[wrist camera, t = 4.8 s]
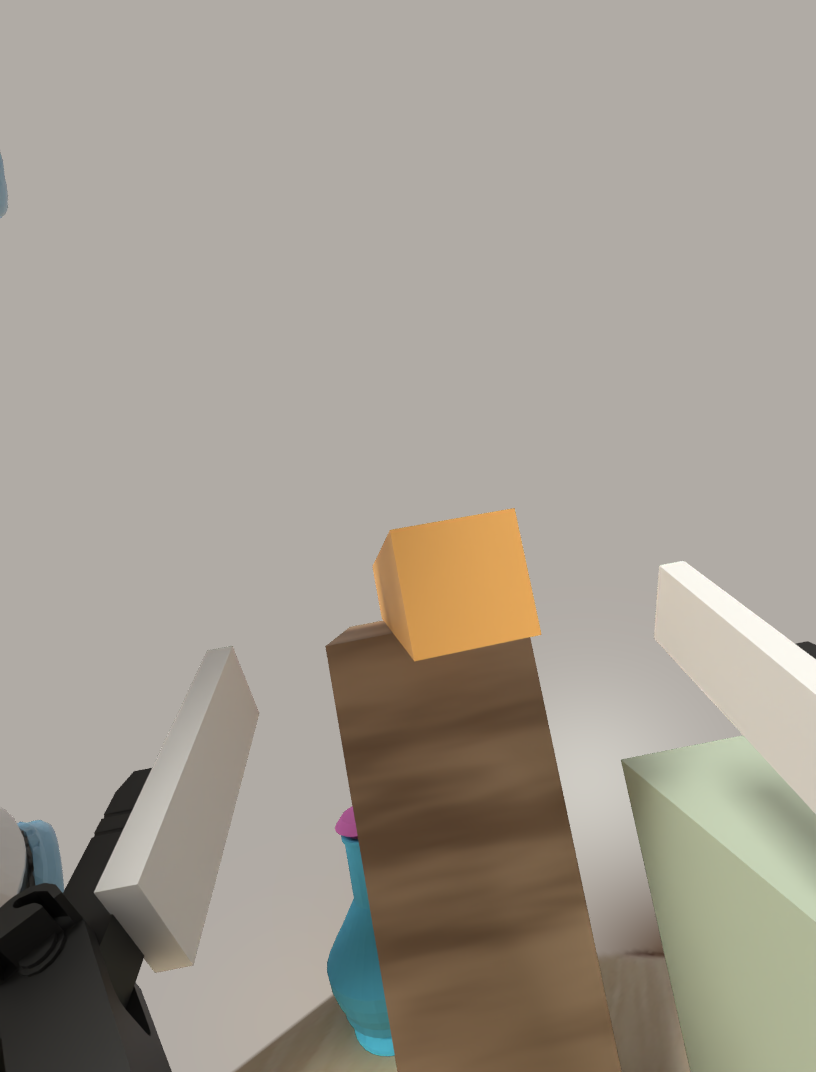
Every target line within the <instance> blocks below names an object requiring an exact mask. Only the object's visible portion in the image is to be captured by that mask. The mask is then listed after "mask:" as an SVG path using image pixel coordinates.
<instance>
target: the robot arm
mask: <svg viewBox="0 0 816 1072" xmlns="http://www.w3.org/2000/svg"><path fill="white" fill-rule="evenodd" d="M7 200H8V195H7V186H6V181H5V176H4V168H3V160H2V157H1V154H0V218H2V216H4V215H5V213H6V211H7V208H8V205H7ZM654 639H655V640H656V641H657V642H658V643H659V644H660V645H661V646H662V647H663V649H664V650H665V651H666V652H667V653H668V654H669V655H670V656H671V657H672V658H673V659H674V661H675V662H676V663H677V664H678V665H679V666H680V667H681V668H682V669H683V670H684V671H685V672H686V674H687V675H688V676H689V677H690V678H691V679H692V680H693V681H694V682H695V683H696V685H697V686H698V687H699V688H700V689H701V690H702V691H703V692H704V693H705V694H706V695H707V697H708V698H709V699H710V700H711V701H712V702H713V703H714V704H715V705H716V706H717V707H718V708H719V710H720V711H721V712H722V713H723V714H724V715H725V716H726V717H727V718H728V719H729V720H730V722H731V723H732V724H733V725H734V726H735V727H736V728H737V729H738V730H739V731H740V732H741V734H742V735H743V736H744V737H745V738H746V739H747V740H748V741H749V742H750V743H751V744H752V746H753V747H754V748H755V749H756V750H757V751H758V752H759V753H760V754H761V755H762V756H763V757H764V759H765V760H766V761H767V762H768V763H769V764H770V765H771V766H772V767H773V768H774V769H775V771H776V772H777V773H778V774H779V775H780V776H781V777H782V778H783V779H784V780H785V781H786V783H787V784H788V785H789V786H790V787H791V788H792V789H793V790H794V791H795V792H796V793H797V795H798V796H799V797H800V798H801V799H802V800H803V801H804V802H805V803H806V804H807V805H808V806H809V808H810V809H811V810H812V811H813V812H814V813H815V814H816V645H815V644H812V643H810V642H803V643H797V644H794V643H793V642H792V641H790V640H789V639H788V638H786V637H785V636H784V635H782V634H781V633H779V632H778V631H777V630H776V629H774V628H773V627H772V626H770V625H769V624H768V623H766V622H765V621H764V620H762V619H761V618H760V617H758V616H757V615H756V614H754V613H753V612H752V611H750V610H749V609H748V608H746V607H745V606H744V605H742V604H741V603H740V602H738V601H737V600H735V599H734V598H733V597H731V596H730V595H729V594H728V593H726V592H725V591H723V590H722V589H721V588H719V587H718V586H717V585H715V584H714V583H713V582H711V581H710V580H709V579H707V578H706V577H705V576H703V575H702V574H701V573H699V572H698V571H697V570H695V569H694V568H693V567H691V566H690V565H689V564H687V563H686V562H685V561H681V562H675V563H671V564H665V565H659V576H658V591H657V604H656V618H655V632H654ZM258 716H259V712H258V709H257V706H256V704H255V701H254V699H253V696H252V695H251V691H250V689H249V686H248V684H247V681H246V679H245V676H244V674H243V671H242V669H241V666H240V664H239V661H238V659H237V656H236V654H235V651H234V649H233V646H229V647H224V648H218V649H213V650H208V651H207V652H206V654H205V656H204V658H203V661H202V663H201V665H200V667H199V669H198V671H197V673H196V676H195V678H194V680H193V682H192V684H191V686H190V688H189V690H188V693H187V695H186V697H185V699H184V701H183V703H182V706H181V708H180V710H179V712H178V714H177V716H176V719H175V720H174V722H173V725H172V727H171V729H170V731H169V733H168V736H167V738H166V740H165V742H164V744H163V746H162V748H161V750H160V752H159V754H158V757H157V759H156V761H155V763H154V765H153V767H152V768H149V769H145V770H139V771H134V772H133V773H132V774H131V775H130V777H129V778H128V779H127V780H126V781H125V782H124V783H123V784H122V786H121V787H120V788H119V789H118V790H117V791H116V793H115V794H114V797H113V798H112V800H111V802H110V804H109V806H108V808H107V810H106V812H105V814H104V819H101V822H100V823H99V825H98V827H97V829H96V831H95V836H94V837H93V838H92V839H91V840H90V842H89V844H88V846H87V848H86V850H85V852H84V854H83V856H82V858H81V860H80V862H79V863H78V866H77V867H76V869H75V871H74V873H73V875H72V877H71V879H70V881H69V883H68V884H67V887H66V888H65V890H64V884H63V874H62V865H61V857H60V852H59V846H58V841H57V838H56V834H55V831H54V829H53V828H52V826H51V825H50V824H49V823H46V822H43V821H42V820H36V821H32V822H28V823H24V822H19V823H16V821H15V819H14V818H13V817H12V816H11V815H10V814H9V813H8V812H7V811H6V810H5V809H3V808H1V807H0V1072H172V1071H171V1069H170V1066H169V1063H168V1061H167V1058H166V1055H165V1053H164V1050H163V1048H162V1045H161V1042H160V1039H159V1037H158V1034H157V1031H156V1029H155V1026H154V1023H153V1020H152V1018H151V1015H150V1013H149V1010H148V1007H147V1004H146V1002H145V999H144V996H143V994H142V991H141V989H140V988H139V986H138V985H137V984H136V983H135V982H136V979H137V976H138V973H139V970H140V967H141V964H142V961H143V958H144V959H145V960H146V962H147V963H148V964H149V965H150V967H151V968H152V970H153V971H154V972H155V973H157V972H163V971H168V970H173V969H177V968H183V967H188V966H193V965H194V961H195V958H196V954H197V949H198V946H199V942H200V938H201V934H202V930H203V927H204V923H205V919H206V915H207V912H208V908H209V904H210V900H211V896H212V892H213V888H214V885H215V881H216V877H217V873H218V869H219V866H220V862H221V858H222V854H223V850H224V846H225V842H226V838H227V835H228V831H229V827H230V824H231V820H232V816H233V812H234V808H235V804H236V800H237V797H238V793H239V789H240V785H241V781H242V778H243V774H244V770H245V766H246V762H247V758H248V755H249V750H250V747H251V743H252V739H253V735H254V732H255V728H256V724H257V720H258Z"/></svg>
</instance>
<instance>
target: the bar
mask: <svg viewBox="0 0 816 1072" xmlns="http://www.w3.org/2000/svg"><path fill="white" fill-rule="evenodd" d="M373 571H374V577H375V583H376V588H377V593H378V599H379V605H380V610H381V615H382V619H383V620H384V622H385V623H386V624H387V626H388V627H389V628H390V630H391V631H392V632H393V634H394V635H395V636H396V638H397V639H398V640H399V642H400V643H401V644H402V646H403V647H404V648H405V650H406V651H407V652H408V654H409V655H410V656H411V658H412V659H413V660H414V661H419V660H423V659H428V658H433V657H438V656H442V655H447V654H452V653H457V652H461V651H466V650H471V649H476V648H480V647H485V646H490V645H495V644H499V643H504V642H509V641H514V640H518V639H523V638H528V637H533V636H538V635H541V630H540V625H539V621H538V616H537V611H536V607H535V602H534V597H533V593H532V588H531V583H530V578H529V574H528V569H527V565H526V560H525V555H524V550H523V546H522V541H521V537H520V532H519V527H518V522H517V517H516V513H515V509H514V508H513V509H507V510H501V511H496V512H490V513H484V514H478V515H473V516H467V517H461V518H456V519H450V520H444V521H438V522H433V523H427V524H422V525H416V526H410V527H404V528H399V529H393V530H390V531H389V534H388V535H387V537H386V539H385V541H384V544H383V546H382V548H381V550H380V552H379V554H378V556H377V558H376V560H375V562H374V564H373Z"/></svg>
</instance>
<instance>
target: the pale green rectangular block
mask: <svg viewBox="0 0 816 1072" xmlns="http://www.w3.org/2000/svg"><path fill="white" fill-rule="evenodd" d="M621 762H622V766H623V771H624V776H625V780H626V784H627V789H628V793H629V798H630V802H631V807H632V811H633V816H634V820H635V825H636V829H637V834H638V838H639V843H640V847H641V852H642V856H643V861H644V865H645V870H646V874H647V879H648V883H649V888H650V892H651V897H652V901H653V906H654V910H655V915H656V919H657V923H658V928H659V932H660V937H661V942H662V946H663V950H664V955H665V959H666V964H667V968H668V973H669V977H670V982H671V986H672V991H673V995H674V1000H675V1004H676V1009H677V1013H678V1018H679V1022H680V1027H681V1031H682V1036H683V1040H684V1045H685V1049H686V1054H687V1058H688V1063H689V1067H690V1072H816V814H815V813H814V812H813V811H812V810H811V809H810V808H809V806H808V805H807V804H806V803H805V802H804V801H803V800H802V799H801V798H800V797H799V796H798V795H797V793H796V792H795V791H794V790H793V789H792V788H791V787H790V786H789V785H788V784H787V783H786V781H785V780H784V779H783V778H782V777H781V776H780V775H779V774H778V773H777V772H776V771H775V769H774V768H773V767H772V766H771V765H770V764H769V763H768V762H767V761H766V760H765V759H764V757H763V756H762V755H761V754H760V753H759V752H758V751H757V750H756V749H755V748H754V747H753V746H752V744H751V743H750V742H749V741H748V740H747V739H746V738H745V737H744V736H738V737H733V738H727V739H722V740H718V741H712V742H708V743H702V744H697V745H693V746H687V747H682V748H678V749H672V750H667V751H662V752H657V753H652V754H647V755H642V756H637V757H632V758H627V759H622V760H621Z"/></svg>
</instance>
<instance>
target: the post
mask: <svg viewBox="0 0 816 1072" xmlns="http://www.w3.org/2000/svg"><path fill="white" fill-rule="evenodd" d="M326 652H327V657H328V664H329V670H330V676H331V682H332V688H333V693H334V699H335V705H336V711H337V717H338V723H339V729H340V734H341V740H342V746H343V752H344V758H345V764H346V770H347V776H348V782H349V787H350V794H351V800H352V805H353V812H354V817H355V823H356V829H357V835H358V841H359V847H360V853H361V859H362V865H363V871H364V876H365V882H366V888H367V894H368V900H369V906H370V912H371V918H372V924H373V930H374V936H375V941H376V947H377V953H378V959H379V965H380V971H381V977H382V983H383V989H384V995H385V1000H386V1006H387V1012H388V1018H389V1024H390V1030H391V1036H392V1042H393V1048H394V1054H395V1060H396V1065H397V1071H398V1072H622V1071H621V1067H620V1062H619V1057H618V1052H617V1048H616V1043H615V1038H614V1033H613V1029H612V1024H611V1019H610V1014H609V1010H608V1005H607V1000H606V995H605V991H604V986H603V981H602V976H601V972H600V967H599V962H598V957H597V953H596V948H595V943H594V939H593V934H592V929H591V924H590V919H589V915H588V910H587V906H586V900H585V896H584V891H583V886H582V882H581V877H580V872H579V868H578V863H577V858H576V853H575V848H574V844H573V839H572V834H571V829H570V824H569V820H568V815H567V810H566V805H565V801H564V796H563V791H562V786H561V782H560V777H559V772H558V768H557V763H556V758H555V753H554V748H553V744H552V739H551V734H550V729H549V725H548V720H547V715H546V710H545V706H544V701H543V696H542V691H541V687H540V682H539V677H538V672H537V668H536V663H535V658H534V653H533V649H532V644H531V639H530V637H528V638H523V639H518V640H514V641H509V642H504V643H499V644H495V645H490V646H485V647H480V648H476V649H471V650H466V651H461V652H457V653H452V654H447V655H442V656H438V657H433V658H428V659H423V660H419V661H414V660H413V659H412V658H411V656H410V655H409V654H408V652H407V651H406V650H405V648H404V647H403V646H402V644H401V643H400V642H399V640H398V639H397V638H396V636H395V635H394V634H393V632H392V631H391V630H390V628H389V627H388V626H387V624H386V623H385V622H384V621H379V622H373V623H368V624H363V625H358V626H353V627H349V628H348V629H347V630H346V631H344V632H343V633H342V634H340V635H339V636H338V637H337V638H335V639H334V640H333V641H332V642H330V643H329V644H328V645H326Z"/></svg>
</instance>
